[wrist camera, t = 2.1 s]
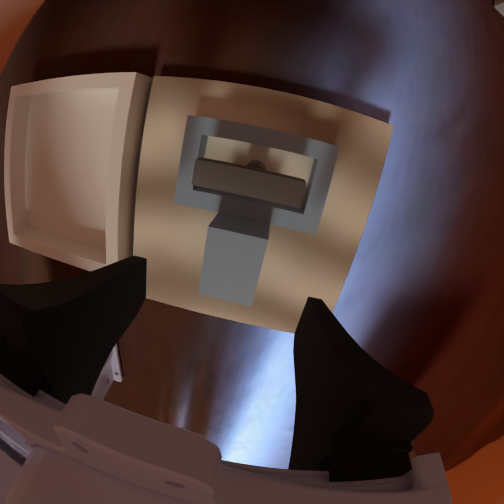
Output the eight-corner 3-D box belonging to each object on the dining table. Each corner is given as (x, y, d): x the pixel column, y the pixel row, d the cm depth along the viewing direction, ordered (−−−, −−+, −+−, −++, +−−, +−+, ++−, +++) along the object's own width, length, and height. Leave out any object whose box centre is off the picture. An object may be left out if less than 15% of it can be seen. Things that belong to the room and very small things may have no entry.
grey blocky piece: (296, 281, 19) (299, 316, 15) (175, 253, 19) (153, 282, 15) (334, 145, 15) (351, 149, 12) (195, 116, 15) (171, 112, 12)
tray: (132, 265, 21) (118, 280, 19) (26, 232, 21) (9, 242, 19) (153, 78, 15) (136, 72, 13) (30, 86, 15) (11, 86, 13)
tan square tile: (319, 330, 22) (326, 381, 17) (138, 287, 22) (106, 328, 17) (387, 125, 15) (427, 125, 10) (160, 78, 15) (117, 63, 10)
